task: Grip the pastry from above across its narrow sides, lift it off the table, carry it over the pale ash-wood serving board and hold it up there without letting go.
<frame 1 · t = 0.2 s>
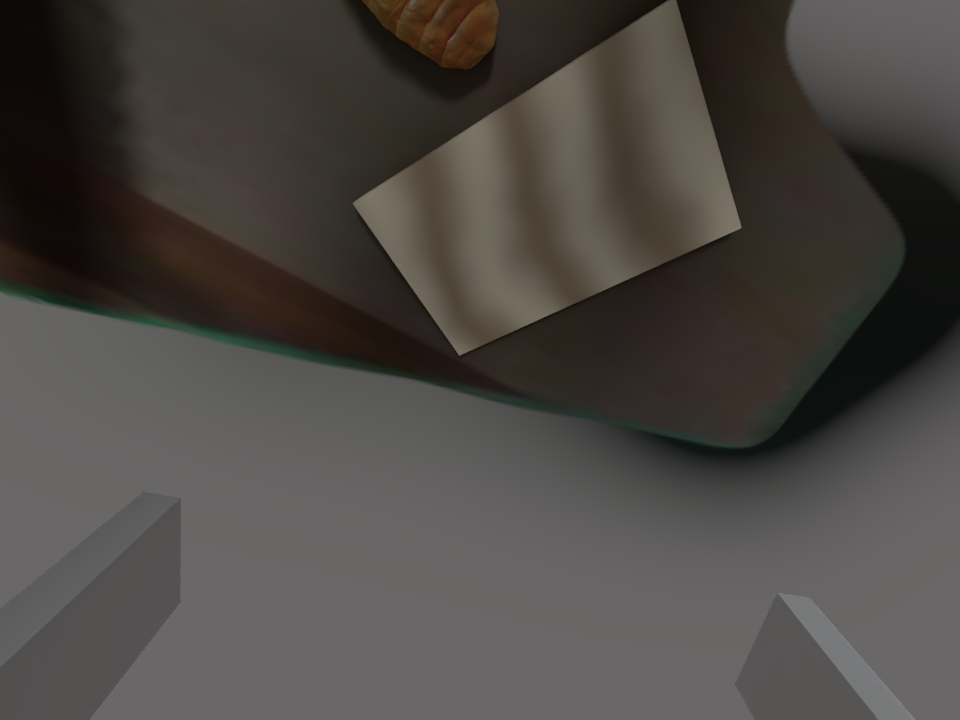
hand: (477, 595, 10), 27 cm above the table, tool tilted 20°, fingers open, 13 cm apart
serving board: (543, 211, 32), on the table
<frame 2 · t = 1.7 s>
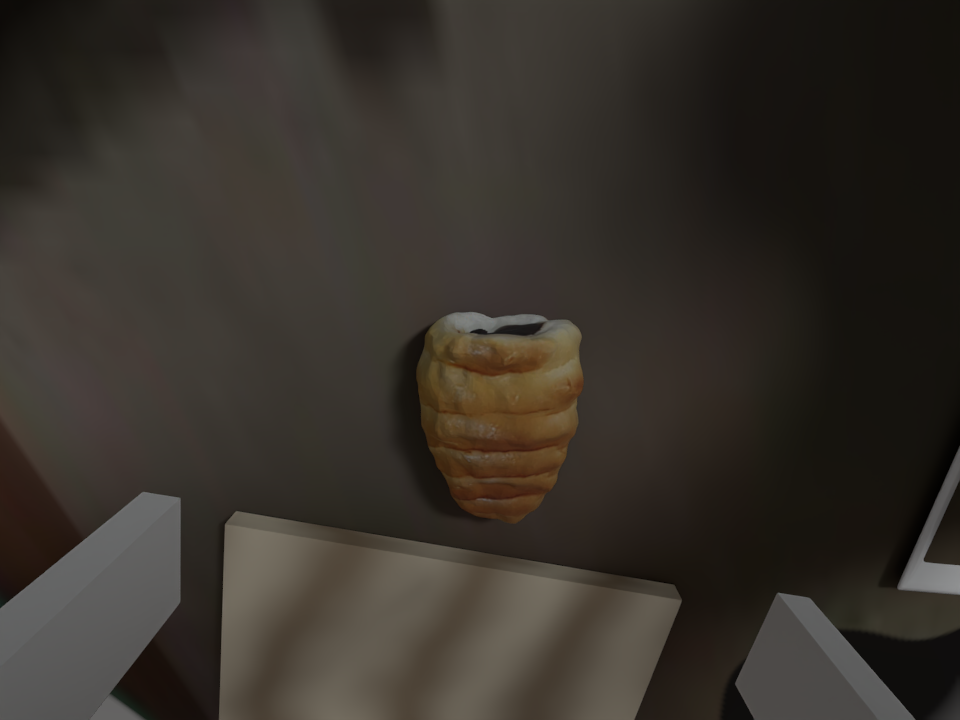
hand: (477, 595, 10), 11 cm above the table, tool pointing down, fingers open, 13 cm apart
pastry: (502, 394, 21), on the table
serving board: (436, 654, 25), on the table
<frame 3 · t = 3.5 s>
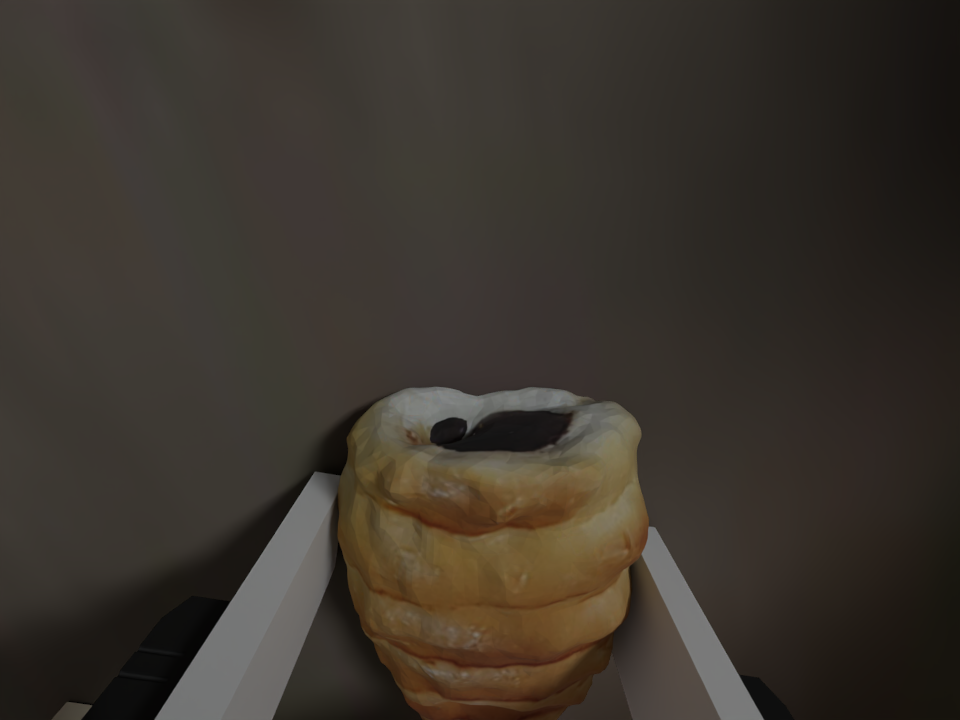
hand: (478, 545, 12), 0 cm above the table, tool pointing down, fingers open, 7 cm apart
pastry: (495, 514, 12), on the table
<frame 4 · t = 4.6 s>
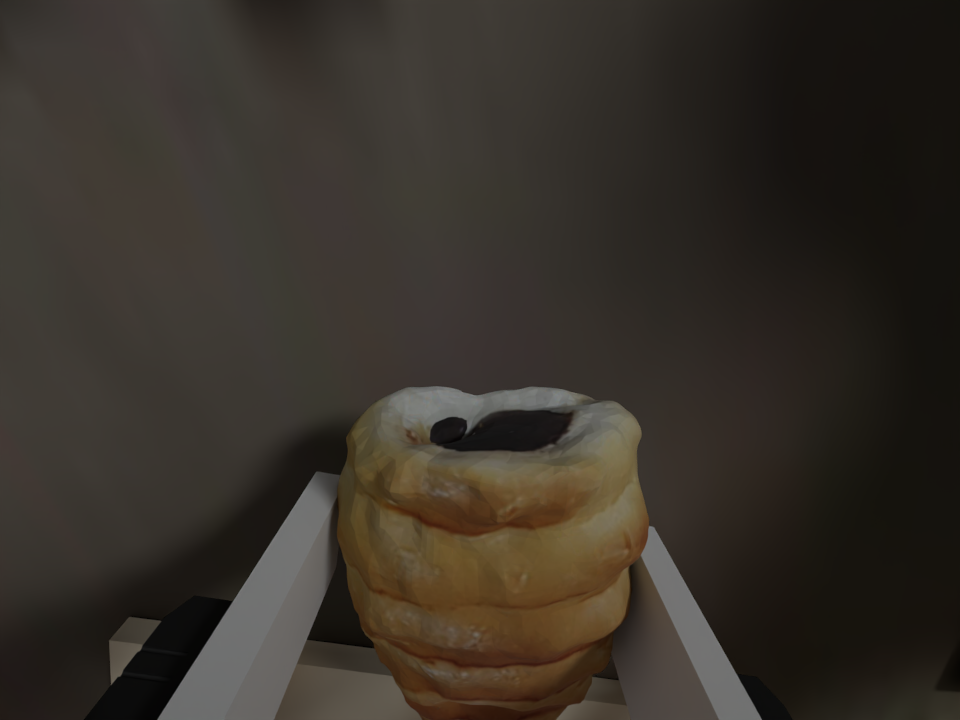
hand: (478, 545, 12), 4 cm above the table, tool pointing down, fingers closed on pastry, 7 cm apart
pastry: (494, 514, 12), point 3 cm above the table, touching gripper
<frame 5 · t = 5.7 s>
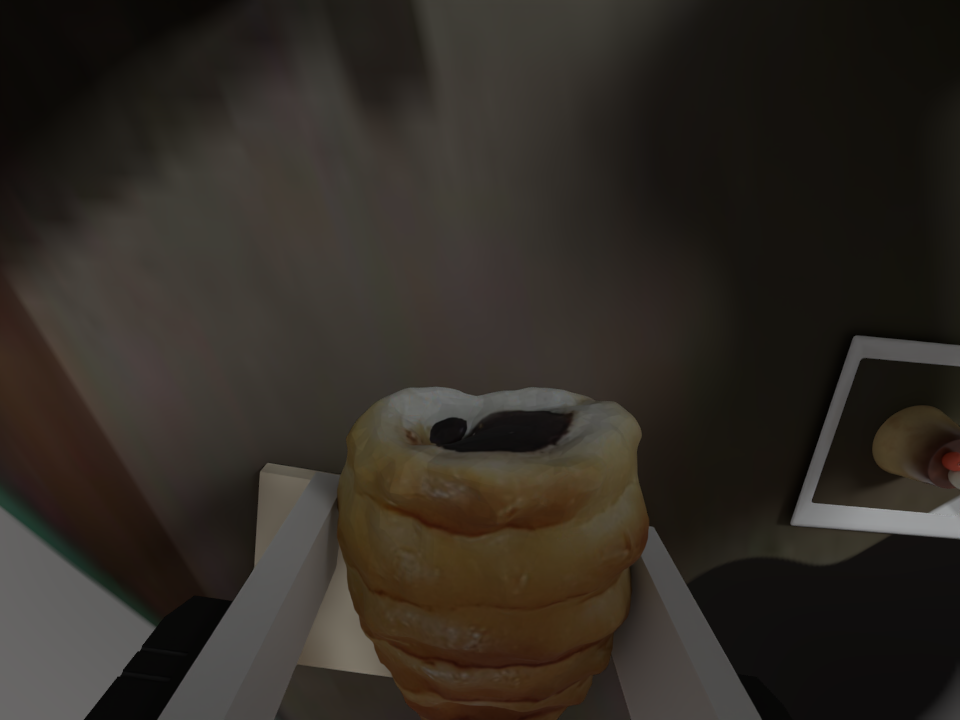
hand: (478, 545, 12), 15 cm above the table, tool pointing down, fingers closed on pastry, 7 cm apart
pastry: (494, 514, 12), point 14 cm above the table, touching gripper
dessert: (900, 435, 28), on the table
serving board: (432, 585, 30), on the table
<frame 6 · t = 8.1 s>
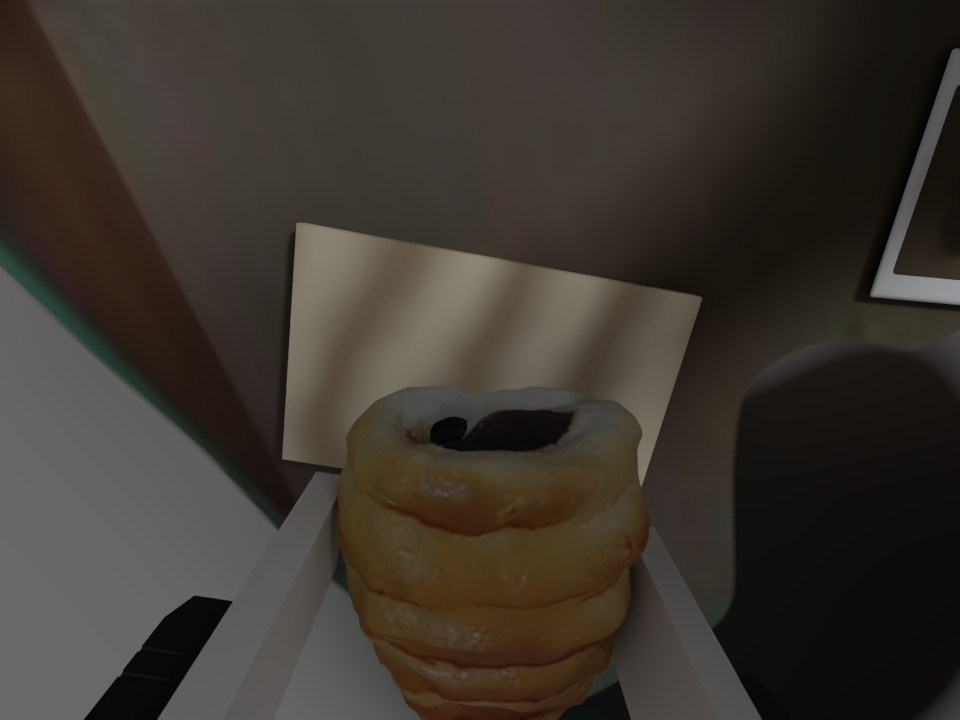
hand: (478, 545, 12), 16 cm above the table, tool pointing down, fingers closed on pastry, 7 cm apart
pastry: (494, 514, 12), point 16 cm above the table, touching gripper
serving board: (480, 377, 28), on the table
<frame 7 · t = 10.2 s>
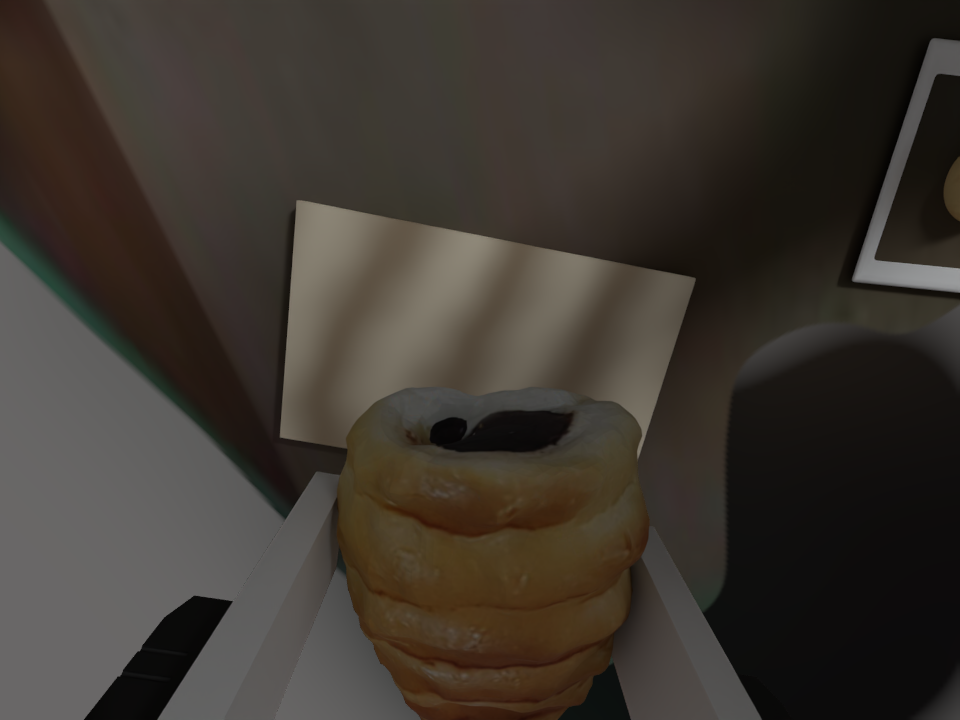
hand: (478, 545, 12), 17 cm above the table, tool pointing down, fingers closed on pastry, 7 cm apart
pastry: (494, 514, 12), point 16 cm above the table, touching gripper
serving board: (477, 357, 28), on the table
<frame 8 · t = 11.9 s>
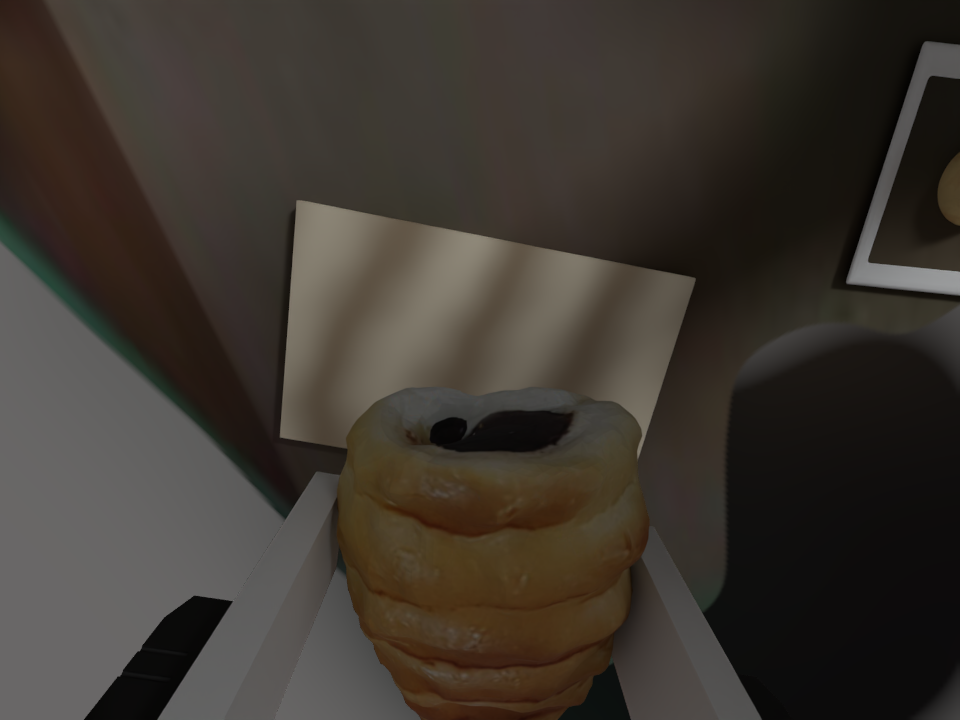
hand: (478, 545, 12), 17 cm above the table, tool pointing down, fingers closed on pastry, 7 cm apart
pastry: (494, 514, 12), point 16 cm above the table, touching gripper
serving board: (477, 357, 28), on the table
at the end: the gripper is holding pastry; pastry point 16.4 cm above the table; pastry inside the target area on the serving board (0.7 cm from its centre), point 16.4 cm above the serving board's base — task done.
